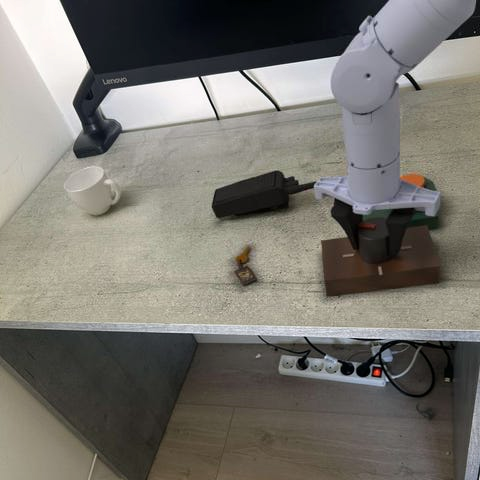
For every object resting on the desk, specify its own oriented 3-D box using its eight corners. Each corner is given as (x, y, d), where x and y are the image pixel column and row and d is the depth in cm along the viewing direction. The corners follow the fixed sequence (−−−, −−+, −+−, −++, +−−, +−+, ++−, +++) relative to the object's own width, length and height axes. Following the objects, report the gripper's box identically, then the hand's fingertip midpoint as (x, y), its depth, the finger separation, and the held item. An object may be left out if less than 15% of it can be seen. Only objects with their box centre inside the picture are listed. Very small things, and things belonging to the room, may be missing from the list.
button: (421, 182, 70) (422, 171, 68) (426, 197, 67) (426, 186, 66) (395, 186, 71) (395, 176, 69) (399, 201, 68) (399, 190, 67)
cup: (91, 197, 97) (74, 168, 92) (135, 194, 94) (121, 163, 89) (74, 222, 92) (56, 192, 87) (120, 220, 89) (104, 188, 84)
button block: (427, 190, 74) (428, 167, 71) (439, 228, 68) (441, 204, 65) (358, 201, 76) (356, 179, 73) (364, 239, 70) (363, 216, 67)
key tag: (257, 282, 69) (256, 279, 69) (237, 287, 70) (236, 284, 69) (249, 246, 75) (248, 243, 74) (231, 251, 75) (230, 248, 75)
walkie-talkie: (218, 188, 84) (334, 160, 78) (224, 224, 84) (340, 199, 78) (205, 182, 78) (329, 151, 72) (211, 220, 78) (336, 193, 72)
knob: (399, 244, 63) (399, 217, 60) (387, 266, 61) (386, 240, 58) (366, 238, 66) (365, 212, 62) (353, 259, 63) (351, 234, 60)
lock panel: (425, 240, 67) (426, 222, 65) (439, 284, 61) (440, 266, 59) (323, 255, 70) (320, 238, 68) (326, 298, 64) (324, 281, 62)
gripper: (296, 168, 55) (312, 257, 65) (428, 183, 48) (422, 282, 57) (323, 134, 58) (334, 224, 68) (450, 144, 51) (441, 243, 61)
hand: (376, 248), depth 63 cm, fingers closed on knob, 4 cm apart
